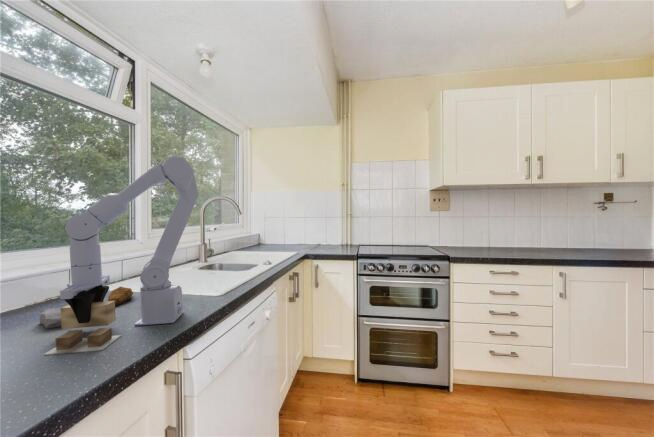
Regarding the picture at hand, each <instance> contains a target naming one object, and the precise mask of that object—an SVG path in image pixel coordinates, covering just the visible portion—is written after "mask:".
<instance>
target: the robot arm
mask: <svg viewBox="0 0 654 437" xmlns="http://www.w3.org/2000/svg"><path fill="white" fill-rule="evenodd" d="M195 176H196V175H195V171H194V169H193V168H192V166H191V165H190V163H189V162H188V160H187V159H186V158H184V157H183V156H179V155H171V156H169V157H168V158H166V159H165V161H164V162H163V161H160V162H159V163H157V164H155V165H153V166H152V167H151V168H150V169H148V170H147V171H145V172H144V173H142V175H140V176H139V177H138V178H136V179H135V180H134V181H133V182H131V183H130V184H128V185H127V186H126V187H125V188H123V189H122V190H121V191H120V192H117V193H111V192H110V193H107V194H106V195H105V194H100V196H98V197H97V198H98V199H99V200H98V201H96V202H95V203H93V204H92V205H91V206H89V207H88V208H82V209H81V210H80V213H81V214H76V215H72V216H71V217H70V218H69V219H68V220H67V222H66V224H65V228H64V229H65V232H66V234H67V235H68V236H69V259H70V261H69V262H70V276H71V277H70V279H71V282H69V283H67V284H66V288H63V289H62V290H60V291H59V294H60V300H63V301H65V302H66V303H67V305H70V307H71V308H72V310H73V312H74V314H75V316H76V318H77V321H78V323H88V322H90V317H91V306H92V302H104V301H105V298H106V295H107V293H108V292H109V290H110V286H109V285H106V284H109V283H111V281H110V280H111V279H110V278H111V275H103V272H102V271H103V270H102V256H101V254H102V253H101V244H100V234H101V233H102V230H103V227H105V228H107V227H108V226H110V225H111V224H112V223H114V221H116V220H117V219H118V218H120V217H121V216H123V215H124V214H125V213H126V212H128V210H129V203H130V202H133V200H135V199H136V198H137V197H139V196H140V195H142V194H143V193H145V192H146V191H148V190H149V189H150V188H152V187H153V186H155V185H162V184H167V181H169V182H170V184H172V185H173V186H174V188H175V190H176V192H177V194H178V198H177V201H176V203H175V205H174V207H173V208H172V209H173V210H172V212H171V214H170V217H169V218H168V220H167V223H166V225H165V227H164V231H163V233H162V235H161V237H160V239H159V242H158V243H157V246H156V248H155V250H154V253H153V255H152V257H151V259H150V260H149V261H148V262H147V263H146V264H145V265H144V267H143V269H142V271H141V273H140V276H139V278H140V280H139V281H140V283H141V284H142V285H140V287H139V288H140V290H139V292H140V313H141V314H140V317H141V318H140V319H139V320H137V321H136V322H135V323H134V324H133V325H134V326H147V325H148V326H149V325H160V324H172V323H173V324H174V323H175V322H176V321H177V320H178V319H179V318H180V316H182V315H183V314H184V312H185V311H184V310H183V309H184V307H183V290H182V289H183V288H182V287H181V286H180V285H173V284H172V282H171V280H169V277H170V266H171V263H172V261H173V257H174V254H175V252H176V249H177V247H178V245H179V243H180V240H181V238H182V236H183V233H184V231H185V229H186V226H187V223H189V222H188V221H189V219H190V216H191V215H192V212H193V209H194V207H195V205H196V203H197V200H198V197H199V189H198V185H197V181H196V177H195ZM104 284H105V285H104Z"/></svg>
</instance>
